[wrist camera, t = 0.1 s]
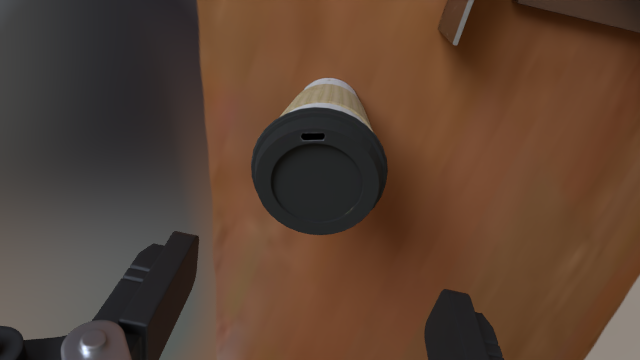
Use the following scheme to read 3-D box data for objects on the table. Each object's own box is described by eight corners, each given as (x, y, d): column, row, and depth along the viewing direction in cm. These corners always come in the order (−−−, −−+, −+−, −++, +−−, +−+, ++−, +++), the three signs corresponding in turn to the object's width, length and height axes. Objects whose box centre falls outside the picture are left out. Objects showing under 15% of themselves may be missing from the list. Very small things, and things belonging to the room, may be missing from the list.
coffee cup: (285, 154, 44) (255, 242, 31) (274, 60, 39) (234, 119, 26) (378, 152, 43) (388, 242, 30) (379, 56, 38) (391, 115, 25)
